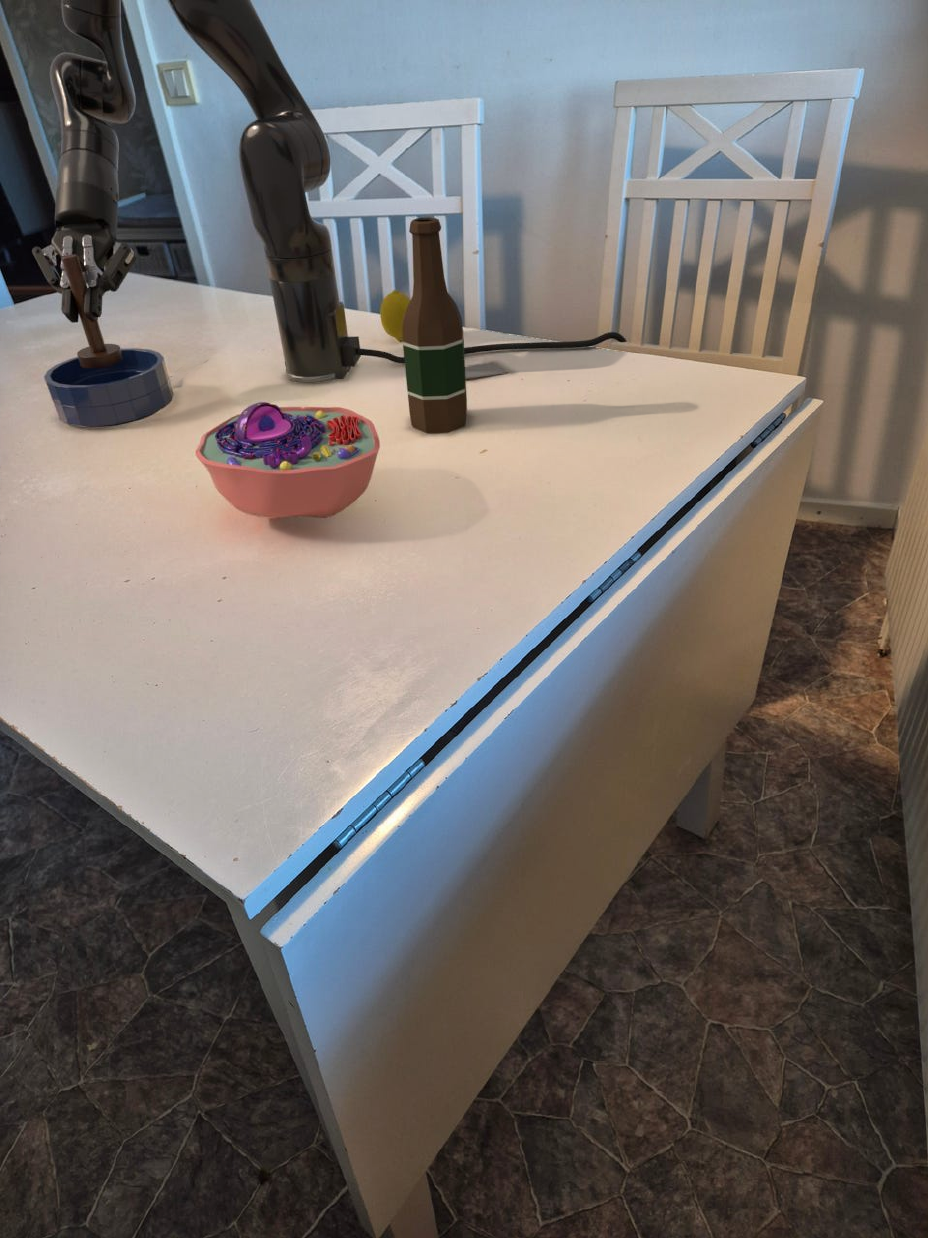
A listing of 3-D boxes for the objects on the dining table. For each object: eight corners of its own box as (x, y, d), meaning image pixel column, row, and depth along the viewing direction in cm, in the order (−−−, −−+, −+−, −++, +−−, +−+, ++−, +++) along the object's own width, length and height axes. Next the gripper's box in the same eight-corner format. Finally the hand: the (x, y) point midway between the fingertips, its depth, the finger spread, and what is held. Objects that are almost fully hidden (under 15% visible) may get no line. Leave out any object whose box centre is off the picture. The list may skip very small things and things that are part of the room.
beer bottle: (479, 414, 106) (470, 213, 92) (453, 438, 101) (440, 227, 86) (426, 407, 109) (410, 211, 95) (398, 430, 104) (377, 225, 89)
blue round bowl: (190, 387, 120) (180, 347, 117) (147, 430, 108) (134, 386, 104) (92, 388, 122) (79, 349, 119) (38, 431, 110) (21, 387, 106)
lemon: (412, 346, 131) (407, 294, 126) (379, 345, 132) (373, 294, 127) (420, 335, 135) (416, 285, 130) (388, 335, 136) (383, 285, 131)
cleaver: (509, 376, 119) (494, 366, 123) (509, 368, 118) (494, 357, 122) (425, 390, 115) (412, 378, 118) (425, 381, 114) (412, 370, 117)
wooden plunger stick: (130, 354, 113) (99, 250, 105) (112, 368, 109) (79, 260, 101) (92, 355, 114) (59, 251, 106) (73, 368, 109) (37, 261, 101)
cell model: (323, 568, 78) (303, 459, 71) (180, 521, 87) (150, 421, 80) (422, 493, 89) (413, 394, 82) (286, 459, 98) (268, 367, 91)
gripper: (20, 181, 105) (12, 306, 102) (125, 176, 104) (119, 301, 102) (52, 218, 112) (45, 335, 110) (150, 213, 112) (145, 331, 109)
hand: (81, 318), depth 106 cm, fingers closed on wooden plunger stick
